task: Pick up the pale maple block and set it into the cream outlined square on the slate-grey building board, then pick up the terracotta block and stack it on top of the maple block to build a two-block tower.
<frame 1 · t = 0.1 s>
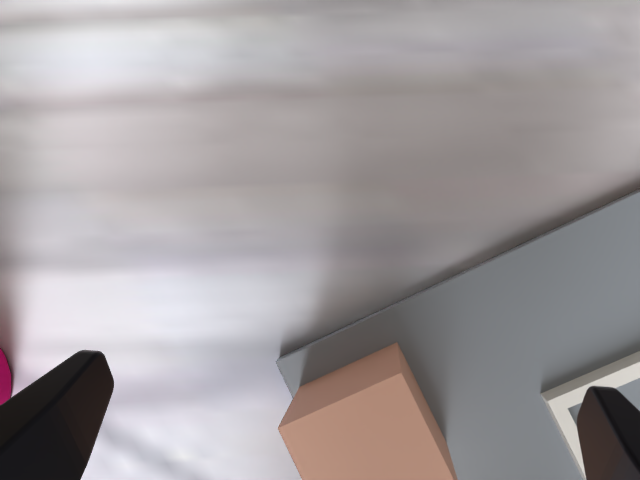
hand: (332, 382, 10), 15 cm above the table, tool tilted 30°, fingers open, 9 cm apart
terracotta block: (371, 414, 24), point 1 cm above the table, touching building board
building board: (570, 466, 23), on the table
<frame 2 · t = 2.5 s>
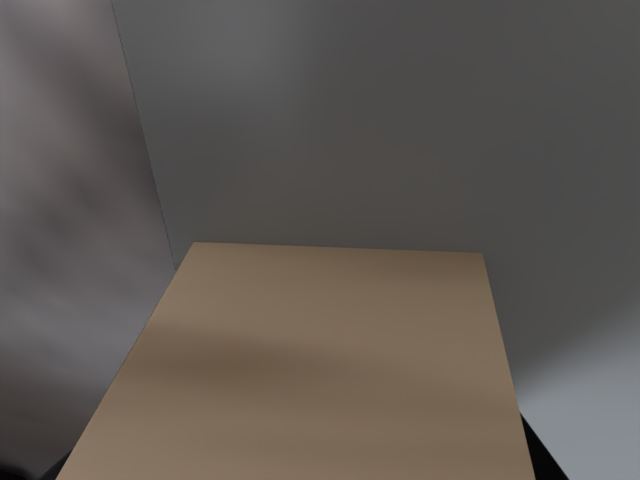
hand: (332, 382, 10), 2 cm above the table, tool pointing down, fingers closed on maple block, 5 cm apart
maple block: (336, 350, 10), point 1 cm above the table, touching building board, gripper
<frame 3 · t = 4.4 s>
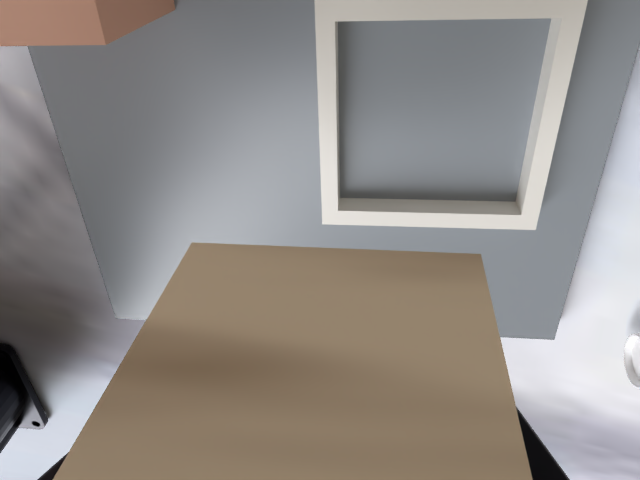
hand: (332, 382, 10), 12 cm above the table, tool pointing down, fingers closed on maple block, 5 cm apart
maple block: (334, 351, 10), point 11 cm above the table, touching gripper
building board: (319, 107, 19), on the table
when the fingers open (3 cm above the table, at t = 6.6 s): maple block drops 1 cm, resting on building board.
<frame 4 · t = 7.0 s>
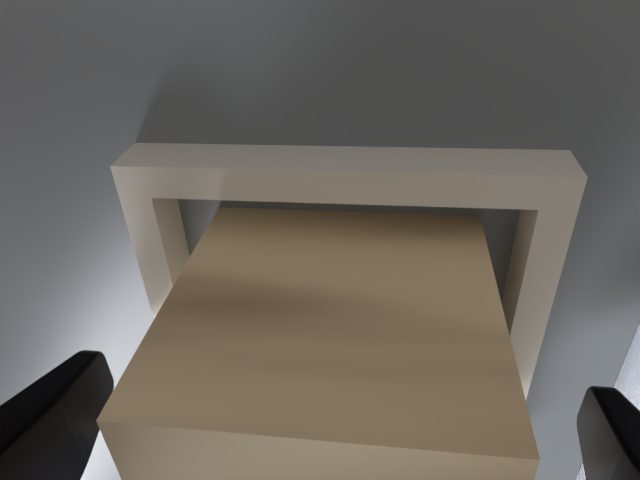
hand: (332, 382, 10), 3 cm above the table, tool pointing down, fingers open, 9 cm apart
maple block: (346, 310, 11), point 1 cm above the table, touching building board
building board: (180, 279, 12), on the table
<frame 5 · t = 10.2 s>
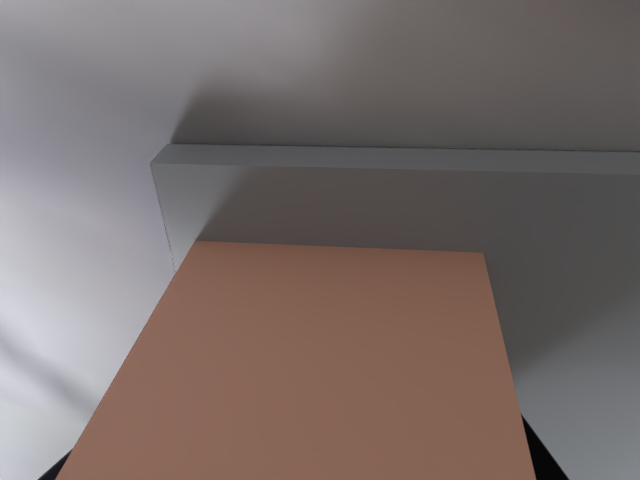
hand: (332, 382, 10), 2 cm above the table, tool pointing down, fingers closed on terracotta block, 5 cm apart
terracotta block: (336, 349, 10), point 1 cm above the table, touching building board, gripper
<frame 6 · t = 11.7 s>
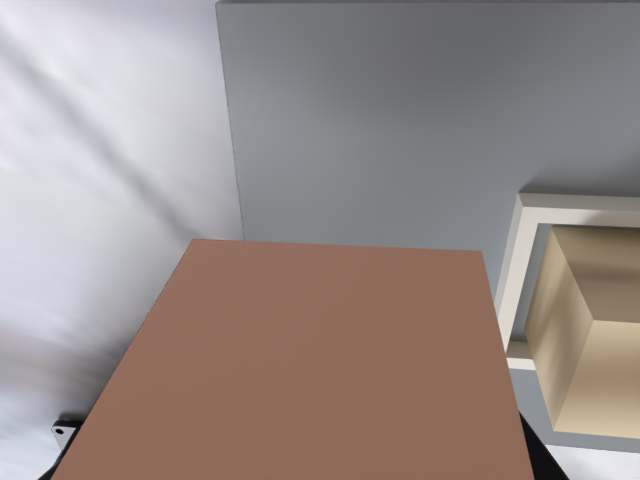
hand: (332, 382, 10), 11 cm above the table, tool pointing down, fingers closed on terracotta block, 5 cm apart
terracotta block: (335, 348, 10), point 10 cm above the table, touching gripper
maple block: (604, 284, 20), point 1 cm above the table, touching building board
building board: (492, 266, 21), on the table
when the fingers open (8 cm above the table, at t = 13.5 s): terracotta block drops 1 cm, resting on maple block.
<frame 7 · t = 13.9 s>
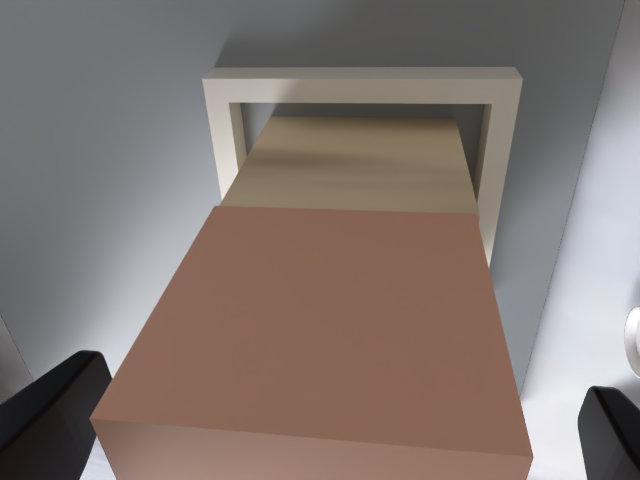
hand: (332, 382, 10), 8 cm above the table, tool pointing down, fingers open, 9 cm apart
terracotta block: (342, 308, 11), point 6 cm above the table, touching maple block
maple block: (360, 198, 15), point 1 cm above the table, touching building board, terracotta block
building board: (234, 182, 17), on the table
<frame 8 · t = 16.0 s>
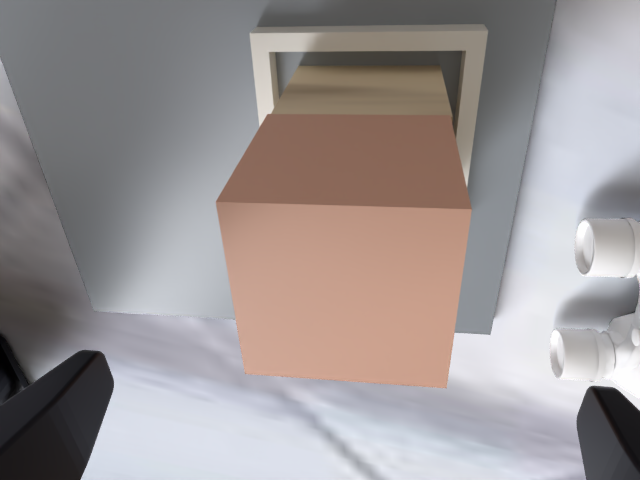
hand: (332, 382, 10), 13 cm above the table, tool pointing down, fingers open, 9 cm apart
terracotta block: (356, 194, 16), point 6 cm above the table, touching maple block
maple block: (367, 132, 20), point 1 cm above the table, touching building board, terracotta block
building board: (267, 124, 21), on the table
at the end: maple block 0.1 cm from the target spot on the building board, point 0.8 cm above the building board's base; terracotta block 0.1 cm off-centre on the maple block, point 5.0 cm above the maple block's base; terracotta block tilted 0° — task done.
